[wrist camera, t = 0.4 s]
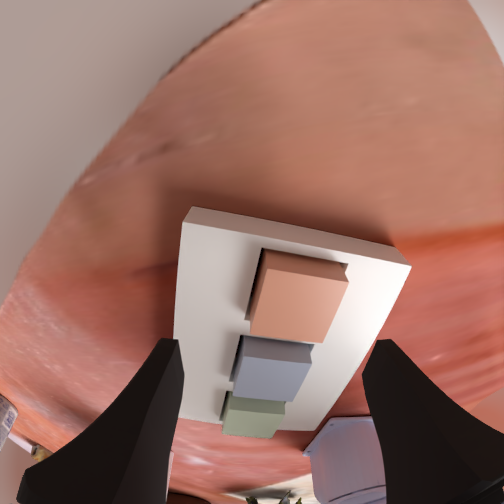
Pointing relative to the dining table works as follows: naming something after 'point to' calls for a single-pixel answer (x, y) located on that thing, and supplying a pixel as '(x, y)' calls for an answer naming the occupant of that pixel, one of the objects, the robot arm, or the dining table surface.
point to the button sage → (251, 416)
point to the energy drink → (6, 418)
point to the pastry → (40, 453)
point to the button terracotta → (296, 296)
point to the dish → (183, 499)
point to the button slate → (270, 368)
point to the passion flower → (251, 500)
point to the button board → (238, 308)
